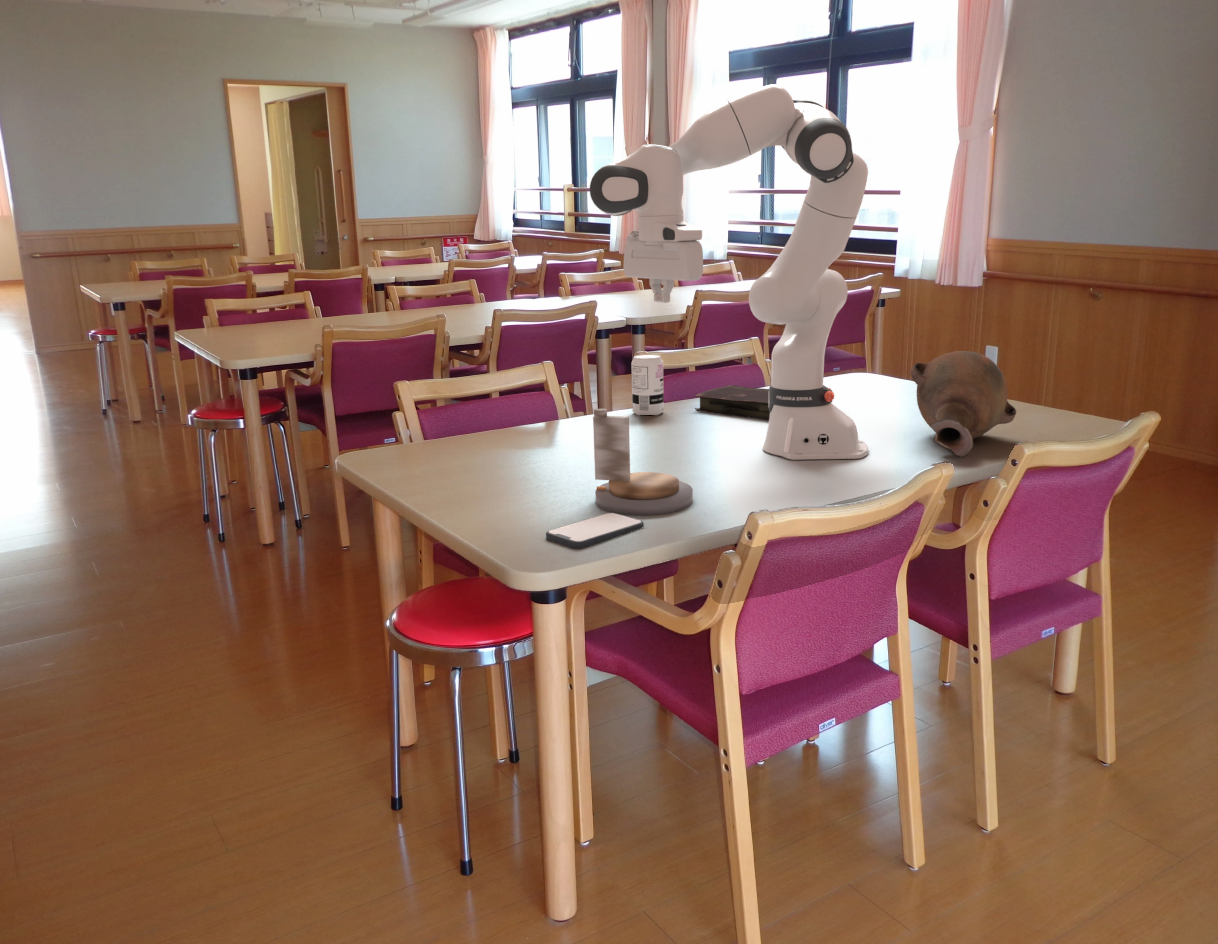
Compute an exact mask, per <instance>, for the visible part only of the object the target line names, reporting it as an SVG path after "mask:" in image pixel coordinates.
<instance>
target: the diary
mask: <svg viewBox="0 0 1218 944" xmlns="http://www.w3.org/2000/svg"><path fill="white" fill-rule="evenodd" d="M768 394H769V388H760V387H759V388H758V387H757V388H756V387H747V386H740V385H736V384H735V385H734V384H729V385H725V386H722V387H717V388H716V387H715V388H712V389H708V390H706V391H702V392H699V393H697V394H695V395H694V397H695V398H699V407H698V408H697V407H695V408H694V410H696V411H697V412H703V413H708V414H718V415H724V416H734V417H741V418H747V419H748V418H750V419H757V420H764V421H769V417H770V411H769V408H768Z"/></svg>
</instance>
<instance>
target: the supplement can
mask: <svg viewBox="0 0 1218 944" xmlns="http://www.w3.org/2000/svg"><path fill="white" fill-rule="evenodd" d="M630 364H631V365H630V366H631V392H632V393H631V401H632V402H631V403H632V409H631V410H632V412H633V413H634V414H635V415H636V416H640V415H655V416H659V415H661V414H662V412H664V409H665V407H664V406H665V405H664V404H665V401H664V400H665V399H664V398H665V397H664V395H665V394H664V360H663V359H662V357H661V355H659V354H651V353H650V354H645V353H644V354H637V355H634V356H633V359H632V361H631V363H630Z"/></svg>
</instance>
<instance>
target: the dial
mask: <svg viewBox="0 0 1218 944" xmlns="http://www.w3.org/2000/svg"><path fill="white" fill-rule="evenodd" d="M592 421H593V423H592V424H593V425H592V426H593V450H594V451H593V453H594V455H593V457H594V480H597V481H608V482H609V492H610V493H611V494H613V495H615V496H618V497H621V498H627V499H657V498H663V497H667V496H671V495H673V494H675V493H677V492H678V491H679V481H680V480H679V478H677V476H674V475H672V474H668V473H662V472H654V471H652V472H651V471H642V472H641V471H639V472H631V455H630V453H631V451H630V450H631V449H630V417H629V416H625V415H623V416H620V415H619V416H618V415H617V416H616V415H608V410H607V408H595V409H594V410H593V417H592Z"/></svg>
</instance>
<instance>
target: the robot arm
mask: <svg viewBox="0 0 1218 944" xmlns="http://www.w3.org/2000/svg"><path fill="white" fill-rule="evenodd" d="M773 146H780V147H781V148H782V149H783V150H784V151H785V152H786V154H787V155H788V157H789V158H790V159H791V160H792V161H793V162H794V163H795V164H797V165H798V166H799V167H800V168H801V169H802V170H803V171H804V172H805V173H807V174H808V175H810V181H809V182H810V183H809V186H808V188H807V192H806V194H805V196H804V200H803V202H802V205H801V208H800V211H799V214H798V216H797V219H796V221H795V225H794V227H793V231H792V232H791V234H790V237H789V238H788V240H787V242H786V243H785V245H784V246H783V249H782V250H781V251H780V253H779V255H778V256H777V258H776V259H775V260H774V262H773V263H772V264H771V266H770V267H769V268H768V269H767V270H766V271H765V272H764V273H763V274H762V275H761V276H760V277H759V278H757V279H756V280H755V281H753V283H752V285H751V287H750V289H749V292H748V293H749V294H748V305H749V308H750V312H751V313H752V315H753V316H754V317H755V318H756V319H757V320H758V321H760V322H763V323H767V324H772V325H773V324H774V325H785V327H784V329H783V333H782V335H781V337H780V339H779V340H778V341H777V342H776V344H775V345H774V346H773V349H772V352H771V372H770V373H771V381H770V383H771V384H770V385H769V388H768V389H769V394H768V408H769V411H770V417H769V420H768V425H767V431H766V435H765V439H764V442H763V443H764V444H763V445H762V446H763V447H762V450H763V451H764V452H766V453H767V454H771V455H775V456H779V457H783V458H785V459H787V460H794V461H796V460H799V461H800V460H802V461H803V460H841V459H842V460H847V459H848V460H850V459H851V460H852V459H856V460H857V459H863V458H864V457H866V456H867V455H868V454H869V447H868V444H867V443H866V442H865V441H864V440H860V439H859V432H858V430H857V429H858V428H857V425H856V423H855V422H854V420H853V419H852V418H851V417H850V416H849V415H847V414H846V413H845V412H844V411H842V410H841V409H840V408H839V407H837V406H836V405H834V404H833V401H834V399H835V393H834V392H833V390H832V388H830V387H827V386H825V385H824V368H825V355H826V348H827V343H828V338H829V335H830V333H831V330H832V329H831V328H832V326H833V324H834V321H835V319H836V317H837V314H838V313H839V312H840V311H841V310H842V308H843V307H844V305H845V304H846V302H847V299H848V295H849V294H848V293H849V292H848V291H849V290H848V285H847V281H846V280H845V278H844V277H843V275H842V274H841V273H839V272H838V271H836V270H833V269H830V268H829V267H830V266H831V265H832V264H833V263H834V262H835V261H836V260H837V259H839V257H840V256H842V254H843V252H844V251H845V250H846V246H847V243H848V241H849V239H850V236H851V233H852V230H853V228H854V226H855V225H854V224H855V223H856V220H857V218H858V214H859V212H860V209H861V206H862V203H863V201H864V200H863V198H864V195H865V191H866V187H867V182H868V175H869V167H868V165H867V162H866V161H865V160H864V159H863V157H861V156H860V155H858V154H856V153H854V152H853V145H852V137H851V135H850V132H849V129H848V127H847V126H846V125H845V124H844V123H843V122H842V121H841V120H840V119H839V117H837V115H836V114H834V112H832V111H831V110H829V109H827V108H826V107H824V106H823V105H821V104H820V103H818V102H814V101H812V100H798V99H797V100H795V99H794V100H793V97H792V95H791V94H790V93H789V92H788V90H787V89H785V88H784V87H783V86H781V85H779V84H773V83H772V84H768V85H767V84H766V85H764V86H760V87H757V88H754V89H751V90H749V91H748V90H747V91H745V92H743V93H740V94H738V95H736V96H734V97H732V98H730V99H729V98H728V99H727V100H725V101H723V102H722V103H719V104H718V105H716V106H714V107H712V109H710V110H709V111H707V112H706V113H704V114H703V115H701V116H700V117H699V118H698V119H696V120H695V121H694V122H693V123H692V124H691V126H690V127H689V128H688V129H687V130H686V132H684V134H683V135H681V137H680V138H678V140H676V141H675V142H674V143H672V144H670V145H669V146H667V145H662V144H654V143H645V144H642V145H641V146H640V147H638V148H637V149H636V150H635V151H634V152H633V153H630V154H629V155H627V156H625V157H624V158H621V159H619V160H617V161H613V162H611V163H608V164H606V165H604V166H602V167H600V168H598V170H597V171H596V172H595V173H594V174H593V176H592V178H591V180H590V183H589V195H590V198H591V201H592V202H593V204H594V206H596V208H598V209H599V210H600V211H601V212H603V213H605V214H606V215H609V216H611V217H620V216H625V215H627V214H629V213H630V212H632V211H637V213H638V216H637V217H638V230H633V231H631V232H630V233H629V234H628V236H627V237H626V244H625V247H624V252H623V254H624V255H623V273H624V276H625V277H627V278H634V279H635V278H637V279H649V281H648V282H649V287H650V288H651V291H652V293H653V301H654V302H655V303H661V304H662V303H664V304H666V303H670V302H671V293H672V291H673V289H674V286H675V281H682V282H683V281H684V282H693V281H699V280H700V279H701V278H702V276H703V274H704V251H703V245H702V243H701V242H700V241H701V240H702V239H703V230H702V228H700V227H698V226H695V225H693V224H692V223H690V222H688V221H685V219H684V210H683V206H682V199H683V196H684V195H683V194H684V175H687V174H689V173H693V172H699V171H704V170H712V169H717V168H722V167H724V166H728V165H731V164H734V163H737V162H739V161H742V160H744V159H746V158H748V157H750V156H752V155H754V154H756V153H757V152H760V151H762V150H763V149H767V148H769V147H773ZM661 285H662V286H663V287H662V286H661Z"/></svg>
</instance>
